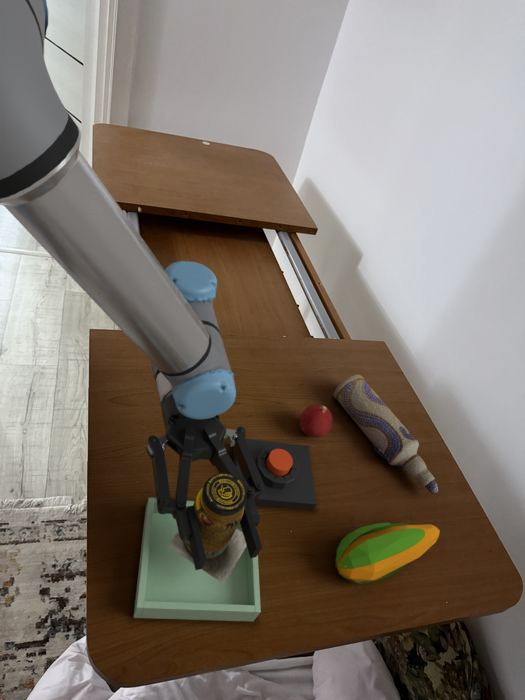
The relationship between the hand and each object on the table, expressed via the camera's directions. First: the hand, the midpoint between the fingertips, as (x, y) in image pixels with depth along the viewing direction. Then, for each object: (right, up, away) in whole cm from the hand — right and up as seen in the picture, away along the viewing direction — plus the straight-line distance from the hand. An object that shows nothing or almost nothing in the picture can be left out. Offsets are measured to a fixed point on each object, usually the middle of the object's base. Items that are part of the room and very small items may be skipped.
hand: (229, 558), depth 58 cm
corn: (+22, -8, +21) cm, 32 cm away
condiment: (-3, -1, +8) cm, 9 cm away
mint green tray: (-5, -6, +12) cm, 15 cm away
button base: (+5, +3, +26) cm, 26 cm away
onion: (+12, +9, +35) cm, 38 cm away
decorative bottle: (+25, +6, +38) cm, 46 cm away
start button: (+6, +5, +23) cm, 25 cm away
